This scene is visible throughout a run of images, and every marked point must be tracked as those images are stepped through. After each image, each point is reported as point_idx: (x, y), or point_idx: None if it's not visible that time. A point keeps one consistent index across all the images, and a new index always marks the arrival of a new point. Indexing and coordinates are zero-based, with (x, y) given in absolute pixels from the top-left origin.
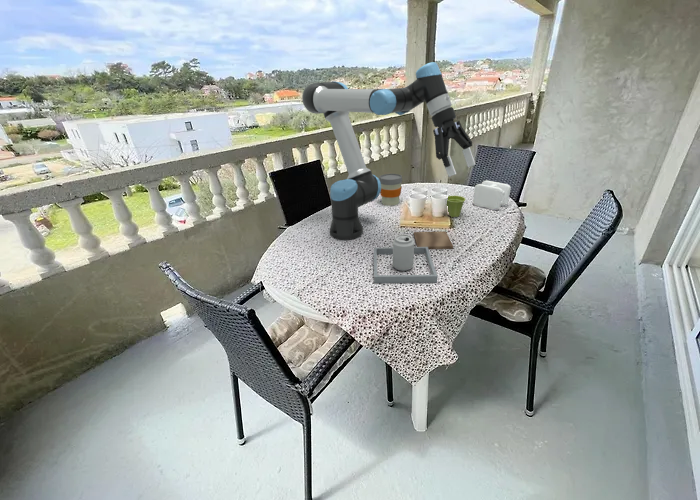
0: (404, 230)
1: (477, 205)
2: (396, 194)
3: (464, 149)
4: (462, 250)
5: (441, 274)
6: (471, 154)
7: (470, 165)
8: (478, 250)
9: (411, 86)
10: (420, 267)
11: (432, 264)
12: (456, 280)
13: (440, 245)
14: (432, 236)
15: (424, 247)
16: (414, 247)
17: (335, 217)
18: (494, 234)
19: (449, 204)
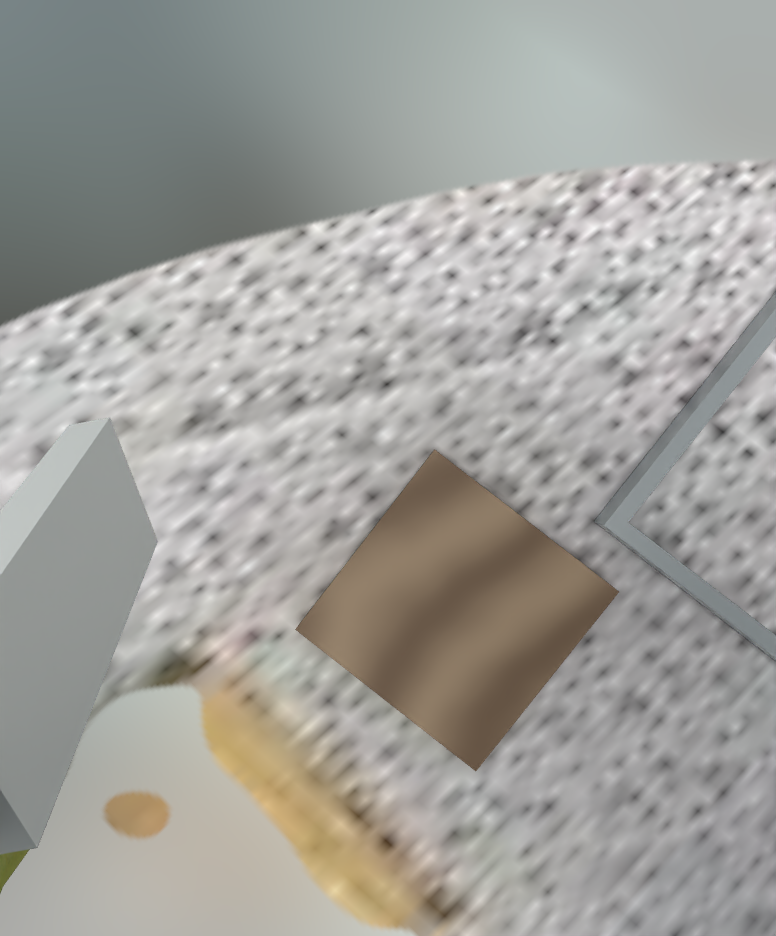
0: (475, 851)
1: None
2: None
3: (1, 789)
4: (405, 399)
5: (725, 289)
6: (13, 534)
7: (133, 501)
8: (330, 337)
9: None
10: (762, 418)
11: (755, 345)
12: (708, 197)
13: (489, 508)
14: (428, 634)
15: (628, 531)
16: (679, 574)
17: None
18: (65, 410)
19: (6, 858)
